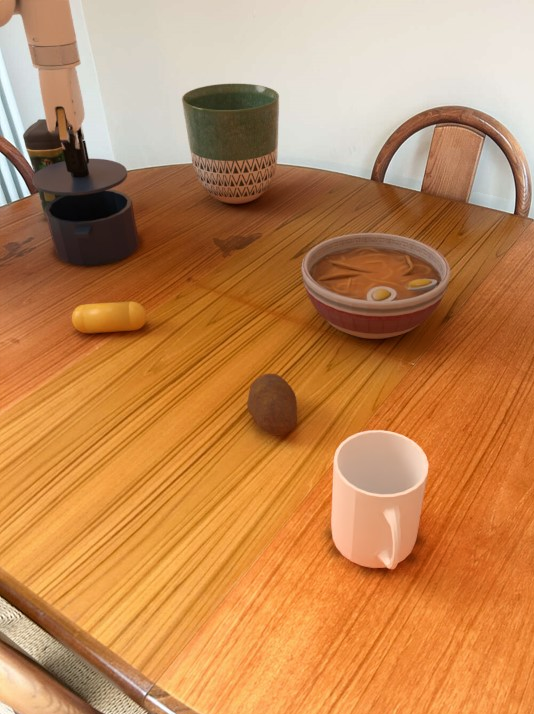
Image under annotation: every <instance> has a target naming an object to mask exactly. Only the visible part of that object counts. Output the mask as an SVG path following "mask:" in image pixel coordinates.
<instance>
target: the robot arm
mask: <svg viewBox="0 0 534 714" xmlns="http://www.w3.org/2000/svg"><path fill="white" fill-rule="evenodd" d="M16 15H20V17H21V20H22V24H23V27H24V28H23V29H24V33H25V37H26V42H27V45H28V50H29V55H30V58H31V63H32V67H33V68H35V69H37V73H38V81H39V82H38V83H39V88H40V94H41V101H42V106H43V110H44V116H45V119H46V122H47V127H48V131H49V132H50V133H54V132H55V130H56V128H57V126H58V129H59V135H60V141H61V144H62V149H63V154H64V159H65V163H66V168H67V171H68V172H85V171H86V166H85V161H84V156H83V151H82V148H80V146H79V140H78V135H80V136H82V140H83V145H84V150H85V155H86V160H87V164H88V163H89V159H90V158H89V152H88V147H87V143H86V140H85V135H84V130H83V126H82V124H83V122H84V120H85V107H84V100H83V96H82V95H83V94H82V90H81V85H80V81H79V77H78V71H77V68H76V67H78V66H80V65H81V63H82V62H81V57H80V51H79V46H78V41H77V36H76V35H77V34H76V30H75V27H74V20H73V15H72V9H71V4H70V0H0V28H2V27H4V26H6V25H7V24H8V23H9V22H10V21H11V19H12V17H13V16H16ZM69 135H73V137H74V139H73V138H72V137H70V136H69Z"/></svg>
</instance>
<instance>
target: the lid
mask: <svg viewBox="0 0 534 714" xmlns="http://www.w3.org/2000/svg"><path fill="white" fill-rule="evenodd" d="M69 136H70V137H72V138H73V139H74V137H73V135H69ZM78 140H79V146H80V148H82V151H83V156H84V161H85V166H86V171H85V172H68V171H67V168H66V163H65V161H63V162H59V163H55V164H52V165H49V166H47V167H44V168H42V169H41V170H39V171H38V172H36V173H35V174H34V173H33V176H32V179H31V181H32V184H33V187H34V188H35V189H37V190H40V191H42V192H45V193H49V194H54V195H66V196H73V195H86V194H92V193H97V192H101V191H105V190H108V189H109V190H112V189H113V188H115V187H117V186H119V185H121V184H122V183H124V182H125V180H126V179H127V177H128V169H127V168H126V167H125V166H124V164H122V163H120V162H117V161H114V160H111V159H104V158H89V163H88V164H87V160H86V155H85V150H84V145H83V141H84V140H82V136H80V135H78Z"/></svg>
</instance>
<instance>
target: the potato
mask: <svg viewBox="0 0 534 714" xmlns="http://www.w3.org/2000/svg"><path fill="white" fill-rule="evenodd" d="M246 406H247V410H248V412H249V415H250V416H251V417H252V419H253V420H254V422H255V423H256V425H257V426H258V427H259V428H260V429H261V430H262V431H263V432H265V433H267V434H270V435H272V436H273V435H274V436H281V435H285V434H289V432H291V431H292V430H294V429H295V427H296V426H297V422H298V404H297V396H296V394H295V391H294V390H293V388H292V387H291V386H290V384H289V383H288V382H287V381H286V380H285V378H283V377H282V376H281V375H279V374H276V373H265V374H262V375H259V376H258V377H257V378H256V379H255V380H254V381H252V383H251V385H250V388H249V390H248V397H247V402H246Z"/></svg>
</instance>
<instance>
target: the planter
mask: <svg viewBox="0 0 534 714" xmlns="http://www.w3.org/2000/svg"><path fill="white" fill-rule="evenodd" d="M181 103H182V111H183V116H184V121H185V127H186V135H187V139H188V146H189V151H190V156H191V163H192V167H193V170H194V173H195V176H196V178H197V181H198V182H199V184H200V185H201V187H202V188H203V189H204V191H206V192H207V193H208V194H209V195H210V196H211V197H212V198H214V199H215V200H218V201H219V202H222V203H225V204H232V205H240V204H242V205H243V204H246V203H250V202H253V201H255V200H256V199H258V198H259V197H261V196H262V195H263V194H264V193H265V192H266V191H267V190H268V188H269V187H270V186H271V185H272V183H273V180H274V177H275V174H276V170H277V165H278V153H279V152H278V151H279V150H278V149H279V120H280V119H279V118H280V95H279V93H278V92H277V90H275V89H273V88H270V87H267V86H264V85H259V84H252V83H219V84H210V85H206V86H201V87H197V88H193V89H191V90H189V91H187V92H185V93H184V94H183V95H182V97H181Z"/></svg>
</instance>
